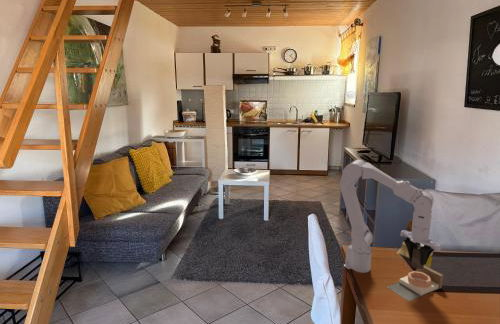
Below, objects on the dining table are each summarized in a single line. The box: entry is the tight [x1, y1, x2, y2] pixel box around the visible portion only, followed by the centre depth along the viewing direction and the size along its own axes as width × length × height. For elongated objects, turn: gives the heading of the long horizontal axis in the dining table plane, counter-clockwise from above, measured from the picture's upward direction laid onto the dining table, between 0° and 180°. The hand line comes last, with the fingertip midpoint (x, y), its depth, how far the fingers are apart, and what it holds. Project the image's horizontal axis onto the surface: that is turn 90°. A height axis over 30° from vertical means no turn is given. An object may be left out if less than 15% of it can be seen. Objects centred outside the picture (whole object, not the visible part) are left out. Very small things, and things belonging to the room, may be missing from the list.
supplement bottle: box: [419, 243, 434, 269], centre depth 135 cm, size 5×5×10 cm
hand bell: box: [396, 219, 413, 260], centre depth 144 cm, size 8×8×16 cm
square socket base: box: [398, 270, 439, 296], centre depth 121 cm, size 9×9×4 cm
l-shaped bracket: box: [386, 266, 444, 302], centre depth 120 cm, size 10×17×6 cm, turn 117°
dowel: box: [410, 245, 424, 270], centre depth 122 cm, size 4×4×7 cm
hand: (417, 261), depth 122 cm, fingers closed on dowel, 4 cm apart
